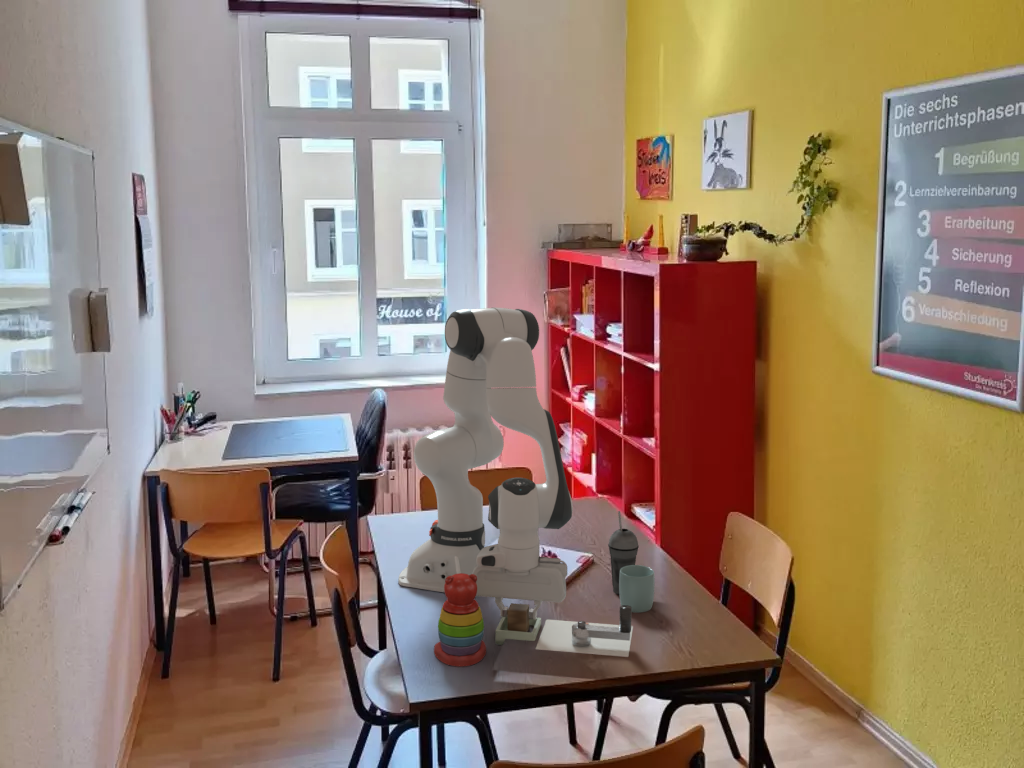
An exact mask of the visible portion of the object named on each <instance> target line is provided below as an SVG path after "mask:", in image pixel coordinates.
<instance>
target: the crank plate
mask: <svg viewBox="0 0 1024 768" xmlns="http://www.w3.org/2000/svg"><path fill="white" fill-rule="evenodd" d="M576 623H578V621H573V620H571V621H570V620H559V619H546V620H545V623H544V625H543V627H542V631H541V633H540V636H539V639H538V641H537V644H536V647H535V650H537V651H539V650H540V651H541V650H542V651H552V652H553V651H554V652H565V653H575V654H576V653H577V654H589V655H592V654H593V655H599V656H601V655H602V656H613V657H623V658H624V657H625V658H628V657H629V655H630V649H631V648H630V647H631V643H632V635H633V630H634V625H631V632H630V641H628V640H615V639H603V638H591V644H590V645H589V646H585V647H580V646H575V645H573V644H572V625H574V624H576ZM586 624H589V625H593V626H606V627H619V624H612V623H611V624H609V623H596V622H586Z"/></svg>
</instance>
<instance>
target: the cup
mask: <svg viewBox="0 0 1024 768" xmlns="http://www.w3.org/2000/svg"><path fill="white" fill-rule="evenodd" d="M655 576H656V574H655V570H653V568H651V567H649V566H646V565H642V564H641V565H640V564H635V565H629V566H625V567H622V568H621V569H620V573H619V594H618V595H619V602H620V606H622V605H628V606H631V607H632V613H645V612H649V611H651V609H652V607H653V605H654V597H655V583H656V582H655V580H656V578H655Z"/></svg>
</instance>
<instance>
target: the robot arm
mask: <svg viewBox="0 0 1024 768" xmlns="http://www.w3.org/2000/svg"><path fill="white" fill-rule="evenodd" d="M444 339H445V343H446V346H447V347H448V349H449V350H450V352H449V355H448V359H447V366H446V372H445V378H444V379H445V381H444V387H443V396H442V399H443V403H444V404H445V406H446V407H447V408H448V409H449V410H450V411H452V413H454V423H453V426H452V427H445V428H442V429H438V430H435V431H432V432H430V433H428V434H426V435H424V436H422V437H421V438H419V439H418V440H417V442H416V443H415V445H414V448H413V459H414V463H415V465H416V467H417V469H418V471H420V473H422V474H423V475H425V477H427V478H428V479H429V480H430V482H431V484H432V485H433V488H434V492H435V496H436V502H437V503H436V505H437V519H435V520H434V521H433V523H432V524H431V527H430V528H429V531H428V532H429V533H428V535H429V536H430V538H429V539H428V540H426V541H425V542H423V543H422V544H420V545H419V546H418V547H417V548H416V549H415V550H413V552H412V553H411V554H410V556H409V560H408V564H407V566H406V567H405V568H403V569H402V571H401V572H400V573H399V575H398V584H399V585H400V586H403V587H409V588H412V589H413V588H414V589H419V590H420V589H421V590H426V591H427V590H428V591H433V592H439V593H445V592H444V585H445V579H446V578H447V577H448V576H452V575H454V574H459V573H464V574H468V575H471V574H474V575H476V576H477V581H476V584H477V594H476V597H483V598H494V602H495V604H496V606H497V607H498V610H499V611H500V612H499V616H500V618H502V617H507V616H508V609H509V606H505V604H504V603H503V599H508V600H509V599H510V600H520V601H521V600H523V601H534V605H535V606H534V608H529V619H535V620H536V618H538V617H537V616H538V611H539V609H540V608H541V605H542V603H543V602H550V603H562V602H563V601H564V600H565V599H566V595H567V583H566V582H567V581H566V578H567V576H568V565H567V563H566V562H565V561H564V560H562V559H561V558H559V557H553V558H552V557H546V556H541V555H540V553H541V552H540V551H541V550H540V548H541V547H540V546H541V545H540V544H541V543H540V541H541V540H540V537H539V529H545V530H547V529H548V530H551V529H552V530H560V529H561V528H563V527H564V526H565V525H566V524H568V522H569V521H570V520H571V519H572V517H573V501H572V500H573V499H572V497H571V494H570V493H571V492H570V491H569V488H568V487H569V486H568V484H567V479H566V474H565V469H564V464H563V458H562V453H561V448H560V444H559V443H560V442H559V438H558V434H557V430H556V429H557V428H556V425H555V422H554V419H553V417H552V414H551V412H550V411H549V410H547V409H545V408H543V406H542V405H541V402H540V400H539V397H538V393H537V392H538V391H537V376H536V367H535V361H534V355H533V350H534V349H535V347H536V346H537V344H538V342H539V339H540V325H539V322H538V319H537V318H536V316H535V314H533V313H532V312H530V310H529V311H528V310H525V309H521V308H513V309H512V308H506V307H489V308H488V307H486V308H485V307H484V308H474V309H473V308H472V309H470V308H464V309H457V310H455V311H453V312H451V314H450V315H449V316H448V317H447V319H446V322H445V325H444ZM493 420H494V421H495V422H496V423H498V424H499V425H500V426H503V427H505V428H507V429H509V430H513V431H515V432H518V433H521V434H524V435H526V436H529V437H530V438H532V439H533V440H534V441H536V443H537V444H538V446H539V449H540V452H541V453H540V454H541V458H542V463H543V468H544V473H545V478H546V480H545V482H543V483H535V482H534V481H533V480H531V479H529V478H525V477H511V478H508V479H505V480H504V481H502V483H501V485H497V486H496V487H494V489H492V491H491V492H490V493H489V494H488V495H487V499H488V516H487V520H488V522H489V523H490V524H491V525H492V526H493V527H495V529H497V530H499V536H498V539H497V543H495V544H491V545H487V546H486V545H485V544H486V530H485V523H484V514H483V513H484V507H483V504H484V499H483V494H482V493H481V491H480V490H479V489H478V488H477V487H476V486H473V484H471V482H470V480H469V474H468V473H469V470H471V469H475V468H478V467H482V466H485V465H488V464H489V463H491V462H493V461H494V460H496V459H497V458H499V457H500V456H501V455H502V452H503V450H504V436H503V433H502V431H501V430H500V428H499V427H498V426H497V425H496V424H495V423H494V422H493Z"/></svg>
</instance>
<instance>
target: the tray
mask: <svg viewBox="0 0 1024 768" xmlns="http://www.w3.org/2000/svg"><path fill="white" fill-rule="evenodd" d="M541 625H542V617H537V618H536V620H535V619H529V626H533V629H532V631H531V632H530V631H528V632H520V631H508V616H507V617H500V620H499V623H498V625H497V627H496V629H495V631H494V632H495V635H494V637H495V642H494V643H495V645H499V646H503V645H504V644H505V641H506V640H518V641H530V642H531V641H532V642H535V641H536V639H537V636H538V633H539V630H540V628H541Z"/></svg>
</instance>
